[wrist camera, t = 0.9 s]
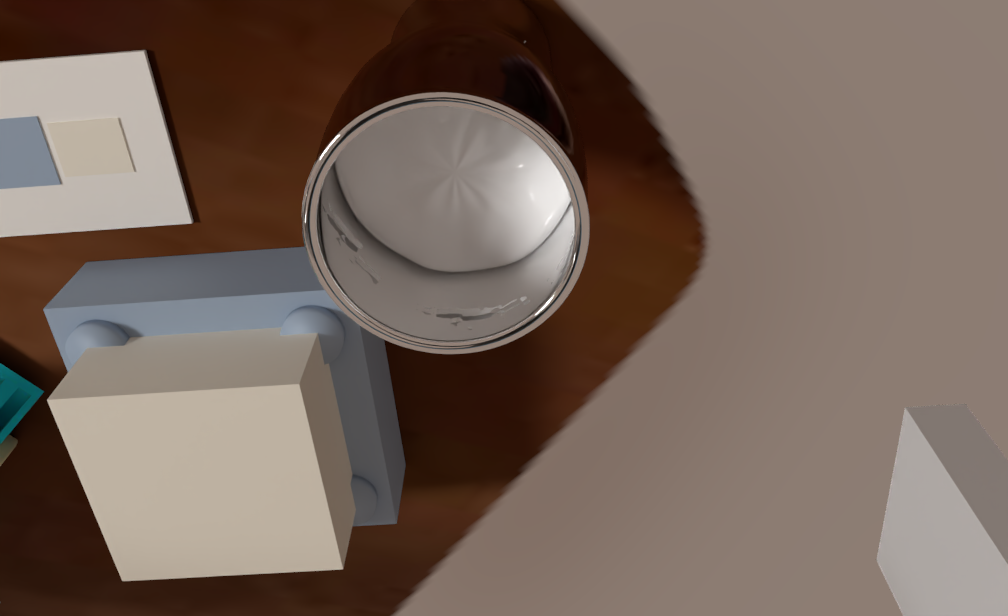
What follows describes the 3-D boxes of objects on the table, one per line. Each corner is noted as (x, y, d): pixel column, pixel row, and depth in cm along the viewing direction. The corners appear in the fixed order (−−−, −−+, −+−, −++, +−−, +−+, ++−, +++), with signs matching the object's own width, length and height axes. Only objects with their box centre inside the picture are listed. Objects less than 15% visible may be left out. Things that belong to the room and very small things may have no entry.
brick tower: (163, 479, 43) (97, 609, 36) (86, 261, 37) (-11, 367, 30) (405, 464, 42) (385, 594, 36) (367, 242, 36) (334, 344, 30)
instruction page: (-42, 238, 36) (-46, 240, 36) (-114, 70, 33) (-118, 72, 33) (193, 221, 36) (191, 224, 36) (145, 49, 33) (143, 51, 32)
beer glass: (480, 187, 35) (465, 410, 22) (340, 74, 33) (231, 248, 20) (601, 55, 33) (664, 220, 20) (457, -78, 30) (420, 10, 17)
